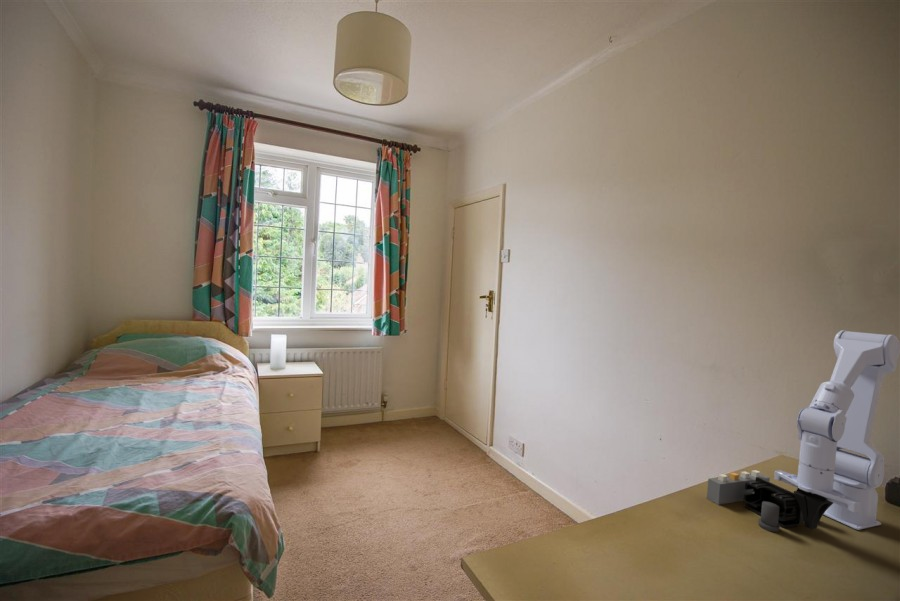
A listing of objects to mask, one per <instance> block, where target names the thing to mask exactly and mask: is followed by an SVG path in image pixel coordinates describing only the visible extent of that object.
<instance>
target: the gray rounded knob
mask: <svg viewBox="0 0 900 601" xmlns="http://www.w3.org/2000/svg"><path fill="white" fill-rule="evenodd" d="M779 509H780V507H779V506H778V505H776V504H774V503H771V502H766V501H763V502H762V510H761V516H760V518H759V519H758V523H757V524H758V526H759V527H760V528H762V529H763V530H766V531H768V532H771V533H779V532H780V527H781V526H779V525H778V519H779Z"/></svg>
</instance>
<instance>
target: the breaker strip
mask: <svg viewBox="0 0 900 601" xmlns="http://www.w3.org/2000/svg"><path fill="white" fill-rule="evenodd" d="M756 477H759V478H762V479H764V480H766V481H768V482H770V480H771V479H770V478H771V477H769V476H767V475H765V474H762V472H761V471H759V470H757V469H755V470H751V472H747V471H745V470H744V471H740V474H738V473H736V472H731V473H729V475H726V474H724V473H721V474H718V476H717V477H711V478H710V477H709V478H707V479H708V480H707V490H706V491H707V492H706V499H707V500H708V501H710V502H713V503H714V504H716V505H725V504H731V503H737V502H743V501H744V494H750V493H753V489H747V490H746V489H745V483H747V482H755V480H756ZM744 502H745V501H744Z"/></svg>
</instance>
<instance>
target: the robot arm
mask: <svg viewBox="0 0 900 601" xmlns="http://www.w3.org/2000/svg"><path fill="white" fill-rule="evenodd" d="M899 340H900V339H898V337H897V336H896V335H894V334H882V333H870V332H861V331H860V332H859V331H848V330H845V329H842V330H840V331H839V332H837V333H836V334H835V336H834V339H833V350H834V353H835V356H836V358H837V359H836V361H835V362H836V363H835V365H834V368H833V372H832V373H831V377H830V379H829V381H824V382H821V383H820V385H819V387H818V389H817V390H816V393H815V395H813V398H812V400H811V402H810V404H809V406H807V407H805V408H803V407H802V408H801V409H800V411H799V413H798V415H797V419H796V428H797V430H798V431H797V432H798V436H797V437H798V439H799V441H800V444H799V445H800V447H799V457H798V466H797V467H798V468H797V474H793V473H789V472H786V471H783V470H781V469H779V470H775V471H774V477H773V479H774V480H776V481H778V482H780V481H781V482H783V483H786V484H788V485H790V486H792V487H796V488H797V489H796V490H794V491H793V493H794V496H795V498H796V500H797V502H798V504H799V506H800V509H801V512H802V515H803V520H804V522H803V525H804V527H805V528H807V529H809V530H814V529H817V528H818V525H819V524H820V522H819V521H820V520H821V518H822V517H823V516H826V517H828V518H830V519H832V520H834V521H836V522H839V523H840V524H841V523H842V524H844V525H845V526H848V527H850V528H852V529H854V530H858V531H859V530H863V529H869V528H873V527H877V526H881V525H882V523H881V521H879V520H877V513H878V512H877V511H878V504H879V502H878V501H879V494H878V492H877V490H876V489H877V488H880V487H881V485H882V483H883V482H884V477H885V460H886V459H885V457H884V455H883V454H882V453H881V452H880V451H879V450H878V449H877V448H876V447H874V446H873V445H872V444H871V439H872V433H873V428H874V422H875V418H876V413H877V408H878V404H879V399H880V394H881V393H880V392H881V388H882V384H883V380H884V378H885V375H887V374H892V373H895V371H896V369H897V366H898V362H899V357H900V341H899ZM842 449H843V450H842ZM845 450H847V451H845ZM849 451H851V452H849ZM852 452H854V453H852ZM856 453H858V454H861V455H858V454H856ZM862 455H864V456H862ZM818 523H819V524H818Z"/></svg>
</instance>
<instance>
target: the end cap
mask: <svg viewBox="0 0 900 601" xmlns="http://www.w3.org/2000/svg"><path fill="white" fill-rule="evenodd" d="M745 489H746V490H747V489H753V493H750V494H744V508H746V509H747V510H749V511H751V512H753V513H755V514H757V515H758V516H760V517H761V510H762V502H763V501H766V502H771V503H774V504H776V505H778V506H779V507H780V509H779V519H778V525H779V526H780V527H781V528H783V529H787V528H794V527H797V526H799V525H800V524H804V520H803V515H802V512H801V509H800V506H799V504H798V502H797V500H796V498H795V496H794V491H790V490H788V489H786V488H783V487H782V486H779V485H777V484H774V483H772V482H770V481H769V482H768V481H766V480H764V479H762V478H759V477H756V480H755V482H747V483H745Z"/></svg>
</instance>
